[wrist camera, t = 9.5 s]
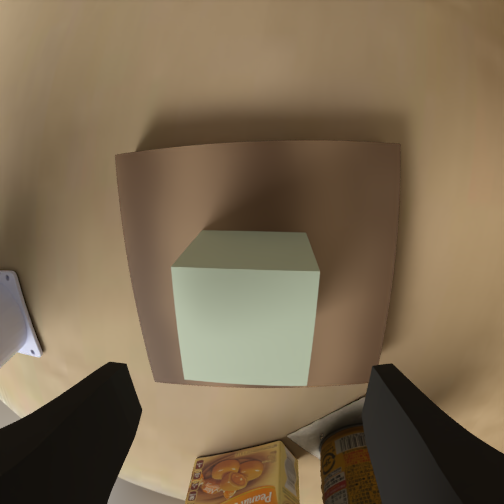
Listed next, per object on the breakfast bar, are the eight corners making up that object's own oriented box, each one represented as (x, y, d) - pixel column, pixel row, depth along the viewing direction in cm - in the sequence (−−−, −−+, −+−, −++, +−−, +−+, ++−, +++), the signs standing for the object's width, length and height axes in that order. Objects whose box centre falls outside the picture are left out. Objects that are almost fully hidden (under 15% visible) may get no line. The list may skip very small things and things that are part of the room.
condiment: (336, 470, 25) (348, 574, 13) (286, 434, 23) (285, 564, 12) (403, 437, 23) (436, 544, 11) (364, 393, 21) (400, 532, 10)
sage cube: (206, 320, 17) (184, 379, 12) (202, 230, 15) (170, 266, 11) (299, 323, 17) (306, 386, 12) (306, 232, 15) (319, 271, 10)
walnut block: (167, 355, 22) (154, 381, 19) (138, 152, 17) (115, 154, 14) (364, 355, 21) (374, 382, 18) (380, 144, 16) (400, 143, 13)
